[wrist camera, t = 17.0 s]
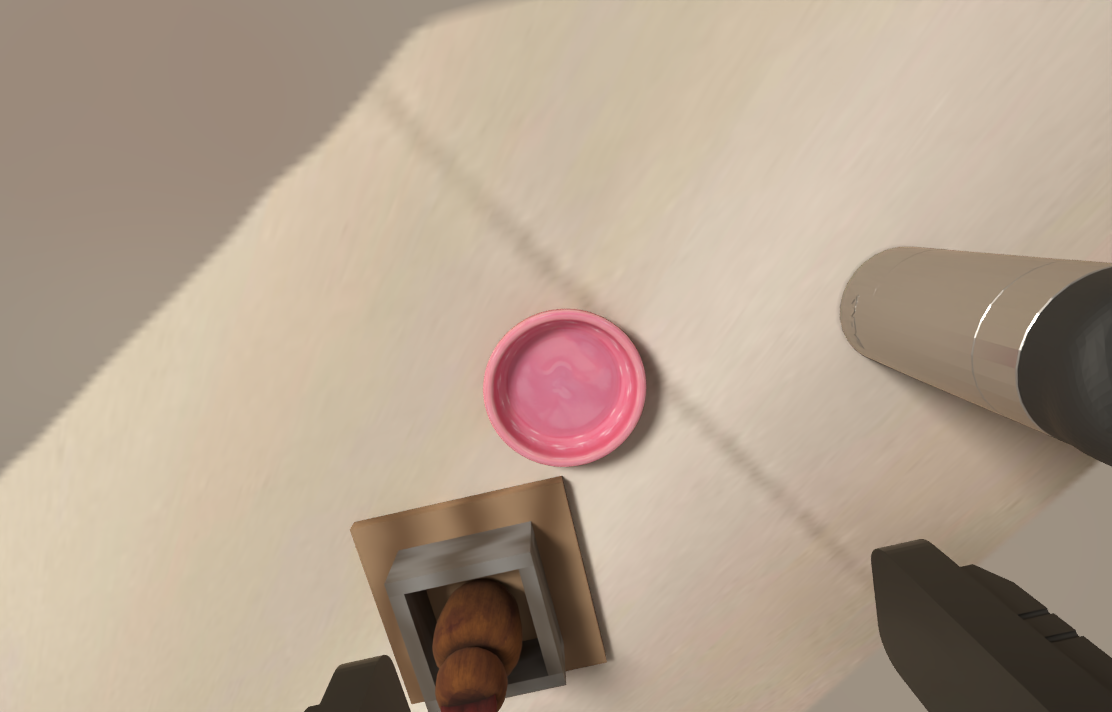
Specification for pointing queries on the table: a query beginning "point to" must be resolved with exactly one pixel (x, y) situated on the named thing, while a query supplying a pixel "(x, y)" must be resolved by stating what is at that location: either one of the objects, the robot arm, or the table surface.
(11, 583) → the table surface
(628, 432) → the saucer
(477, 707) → the wooden figurine
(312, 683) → the table surface
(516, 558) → the collar board
